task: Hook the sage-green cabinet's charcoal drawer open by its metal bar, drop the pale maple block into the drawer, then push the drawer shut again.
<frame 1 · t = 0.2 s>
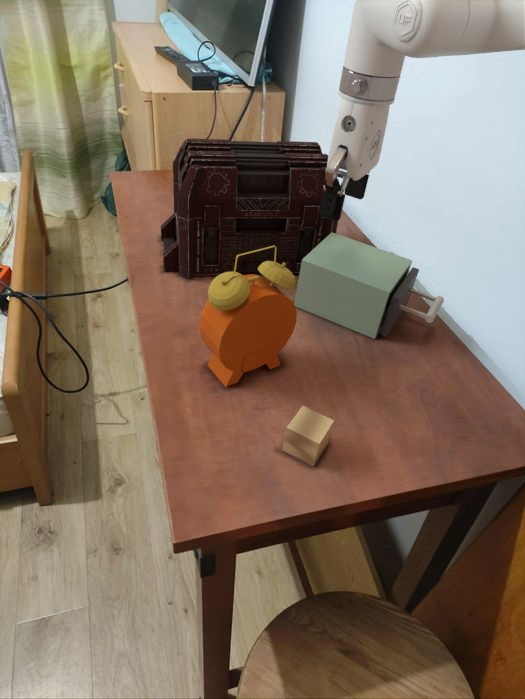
hand: (341, 206, 78), 20 cm above the table, tool pointing down, fingers open, 9 cm apart
drawer: (379, 293, 89), point 5 cm above the table, slide at 0.5 cm
cabinet: (346, 305, 94), on the table
alarm clock: (243, 365, 79), on the table
crate: (249, 253, 104), on the table, touching cabinet
block: (305, 446, 67), on the table
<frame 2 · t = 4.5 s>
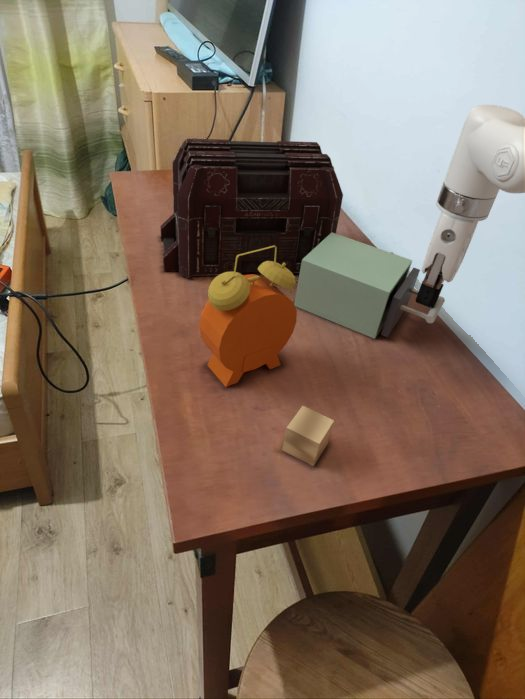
hand: (425, 302, 85), 6 cm above the table, tool pointing down, fingers closed
drawer: (380, 294, 89), point 5 cm above the table, slide at 0.7 cm, touching gripper
everything else where it was.
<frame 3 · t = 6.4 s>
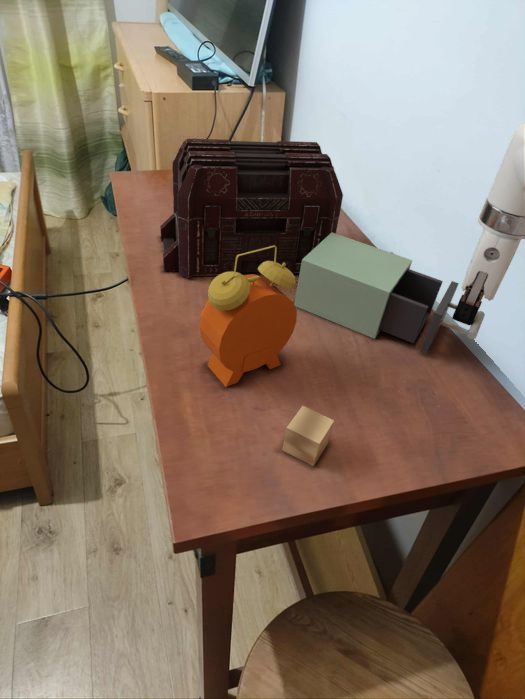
hand: (462, 319, 84), 6 cm above the table, tool pointing down, fingers closed
drawer: (418, 308, 87), point 5 cm above the table, slide at 7.5 cm, touching gripper
everything else where it was.
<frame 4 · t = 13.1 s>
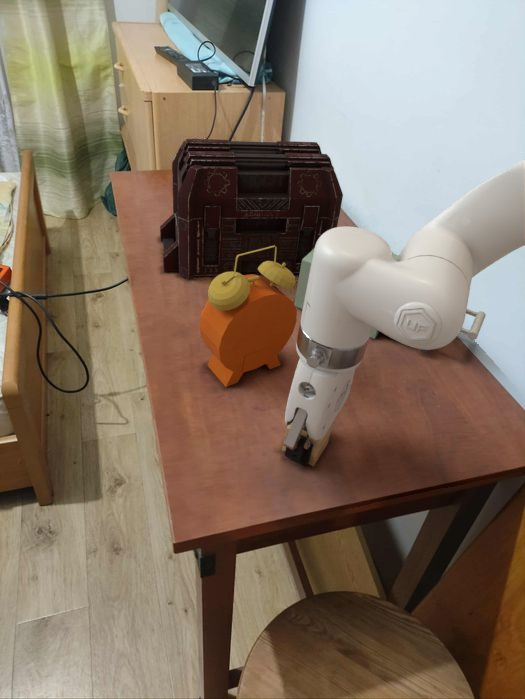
hand: (305, 445, 67), 0 cm above the table, tool pointing down, fingers closed on block, 4 cm apart
drawer: (419, 308, 87), point 5 cm above the table, slide at 7.6 cm
block: (305, 446, 67), on the table, touching gripper
everything else where it was.
when the fingers open (8 cm above the table, at t = 20.5 s): block drops 6 cm, resting on drawer.
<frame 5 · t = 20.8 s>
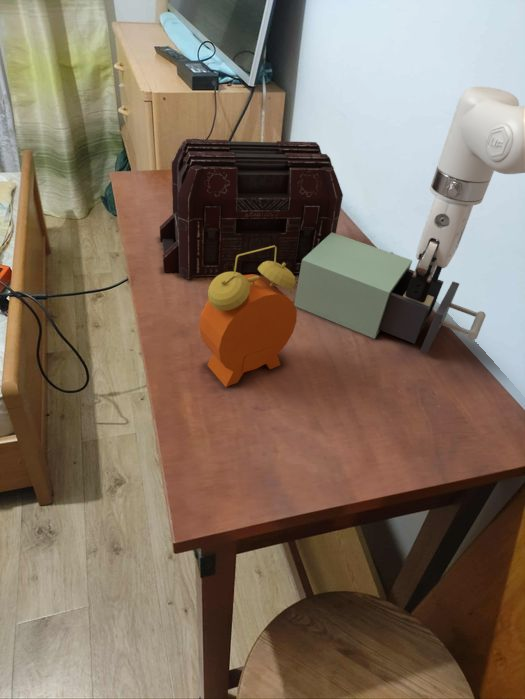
hand: (421, 287, 84), 9 cm above the table, tool pointing down, fingers open, 7 cm apart
drawer: (419, 308, 87), point 5 cm above the table, slide at 7.6 cm, touching block
block: (409, 320, 89), point 2 cm above the table, touching drawer
everything else where it was.
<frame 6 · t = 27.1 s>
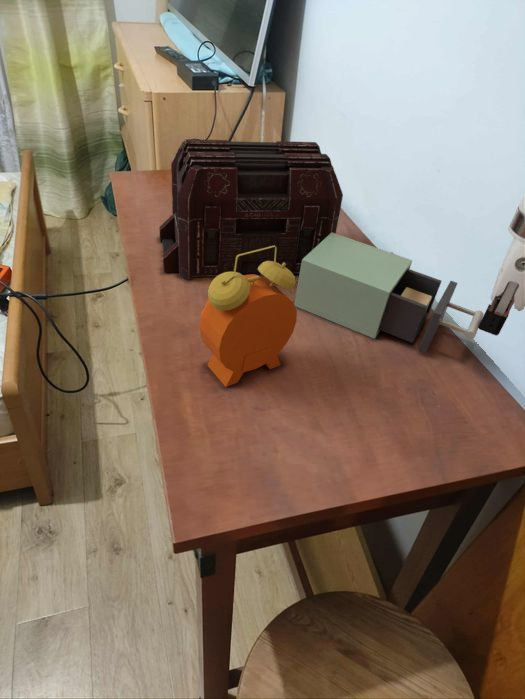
hand: (488, 329, 82), 6 cm above the table, tool pointing down, fingers closed
drawer: (417, 307, 87), point 5 cm above the table, slide at 7.3 cm, touching block, gripper
everything else where it was.
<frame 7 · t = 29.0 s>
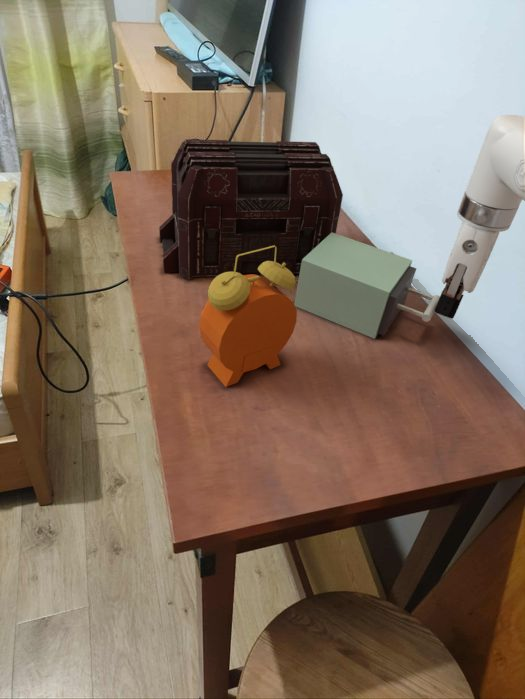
hand: (444, 313, 85), 6 cm above the table, tool pointing down, fingers closed
drawer: (377, 292, 89), point 5 cm above the table, slide at 0.0 cm, touching block, cabinet, gripper
block: (368, 304, 91), point 2 cm above the table, touching drawer
everything else where it was.
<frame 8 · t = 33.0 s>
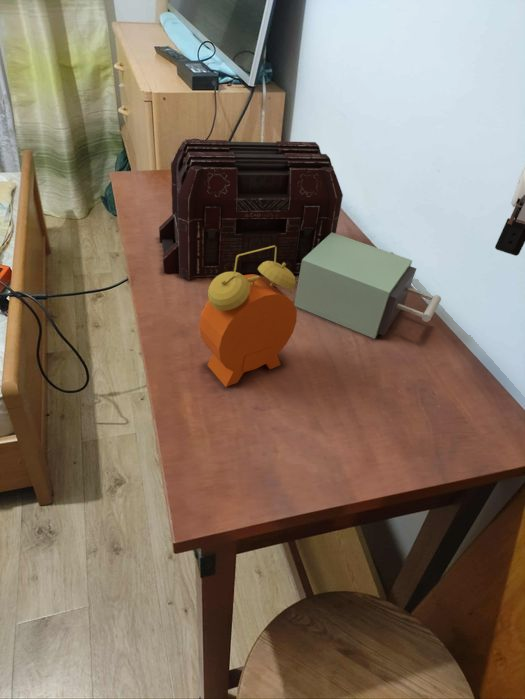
hand: (506, 250, 70), 21 cm above the table, tool pointing down, fingers closed
drawer: (377, 292, 89), point 5 cm above the table, slide at 0.0 cm, touching block
everything else where it was.
at the end: drawer pulled out 7.6 cm at the most during the clip, back to where it started at the end; block inside the target area in the cabinet (3.4 cm from its centre), point 2.0 cm above the cabinet's base; drawer slide at 0.0 cm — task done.
